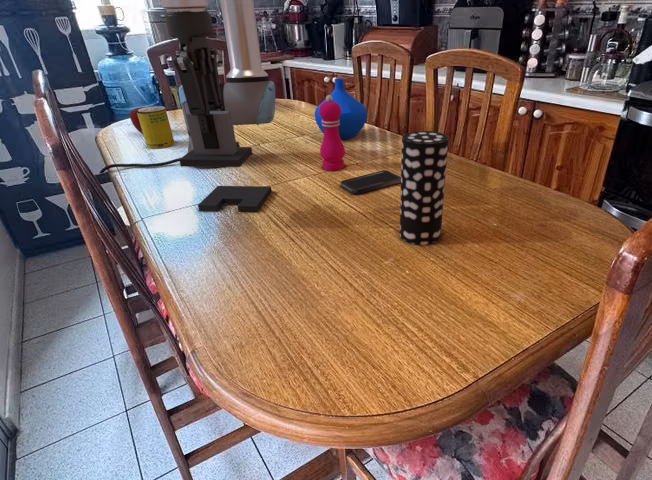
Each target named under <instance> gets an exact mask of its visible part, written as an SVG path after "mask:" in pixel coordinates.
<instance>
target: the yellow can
mask: <svg viewBox="0 0 652 480" xmlns="http://www.w3.org/2000/svg"><path fill="white" fill-rule="evenodd" d="M144 107H145V108H141V109H138V110H136V111H137V115H138V118H139V121H140V125H141V128H142V132H143V134H142V135H143V139H144V141H145V146H146V148H148V149H152V150H153V149H156V150H157V149H165V148H168V147H171V146H174V145H175V139H174V135H173V131H172V128H171V124H170V119H169V116H168V112H167V108H166V107H165V106H163V105H162V106H160V105H158V106H156V105H155V106H144Z"/></svg>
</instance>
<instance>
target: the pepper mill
mask: <svg viewBox="0 0 652 480" xmlns="http://www.w3.org/2000/svg"><path fill="white" fill-rule="evenodd" d="M325 99H326V100H327V101H326V102H323V101H322V102H323V103H322V102H321V103H322V104H321V103H320V104H321V105H320V104H319V105H320V107H319V114H320V116H321V117H322V119H323V120H322V126H323V127H324V133H323V139H322V142H321V144H320V148H319V155H320V157H321V158H322V163H321V164H322V169H323V170H325V171H330V172H331V171H339V170H342V169H343V168H344V167H345V161H344V157H345V155H346V149H345V145H344V143H343V141H342V139H340V136H339V131H338V126H339V125H340V123H339V121H340V120H339V119H338V118H339V116H340V115H341V108H340V106H339V104H338V103H336V102H334V101H332V99H333V98H332V96H331V95H330V94H327V95H326V96H325Z"/></svg>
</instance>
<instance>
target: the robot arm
mask: <svg viewBox="0 0 652 480" xmlns="http://www.w3.org/2000/svg"><path fill="white" fill-rule="evenodd" d="M219 2H220V9H221V15H222V21H223V27H224V35H225V41H226V47H227V54H228V60H229V67H230V70H229V71H228V73H227V74H226V76H225V78H226V82H221V79H220V76H219V70H218V61H217V59H218V57H217V55H218V54H217V51H216V49H215V48H214V49H213V48H212V49H210V45H209V42H208V39H207V37H211V36H213V35H214V25H213V20H212V15H211V13H210V12H209V11H207V10H206V8H207V9H208V8H209V0H160V4H161V8H162V9H163V10H166V12H164V15H163V16H164V21H165V26H166V29H167V34H168V36H170V37H171V38H176V39H177V41H178V42H177V43H178V51H179V56H174V57H173V58H172V62H173V64H174V66H175V68H176V70H177V73H178V77H179V80H180V83H181V85H180V86H179V87H178V95H179V96H178V97H179V104H180V106H181V111H182V115H183V119H184V124H185V128H186V132H187V136H188V143H187V144H188V145H187V153H189V152H190V151H191V150H193V149H194V148H193V144H192V140H191V135H190V131H189V127H188V123H187V119H186V113H188V112H190V114H191V115H193V116H196V115H197V117H198V121H199V125H200V130H201V134H202V139H203V143H204V148H205V149H219V143H218V139H217V134H216V129H215V124H214V119H213V114H210V111H230V112H231V117H232V123H233V126H248V125H256V126H259V125H265V124H267V125H268V124H270V123H272V122H273V121H274V118H275V115H276V114H275V113H276V84H275V82H274V81H272V80H269V74H268V73H267V72H266V71H265V70H264V69H263V67H262V59H261V58H262V57H261V50H260V41H259V34H258V26H257V20H256V19H257V17H256V9H255V1H254V0H219ZM180 158H181V157H178V158H175V159H174V158H173V159H170V160H168V161H163V162H156V163H113V164H108V165H106V166H104V167H103V168H101V170H100V171H99V173H98V174H100V175H101V174H104V173H105V172H106V171H107V170H110V169H113V168H135V167H136V168H155V167H162V166H167V165H171V164H175V163H178V162H180V161H179V159H180ZM196 168H199V169H213V168H214V169H215V168H216V167H196Z"/></svg>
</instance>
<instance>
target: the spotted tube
mask: <svg viewBox="0 0 652 480" xmlns="http://www.w3.org/2000/svg"><path fill="white" fill-rule="evenodd" d="M449 137H450V136H449V135H447V134H445V133H443V132H439V131H434V130H433V131H432V130H417V131H411V132H407V133H404V134H403V135H402V136H401V161H400V163H401V167H400V177H401V182H400V197H399V198H400V202H399V203H400V207H399V237H400V239H401V240H402V241H404V242H406V243H409V244H411V245H421V246H425V245H430V244H431V245H432V244H434V243H436V242H438V241H439V240H440V239H441V235H442V234H441V233H442V224H443V223H442V221H443V210H444V198H445V189H446V187H445V186H446V174H447V163H448V151H449V140H450V139H449Z"/></svg>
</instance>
